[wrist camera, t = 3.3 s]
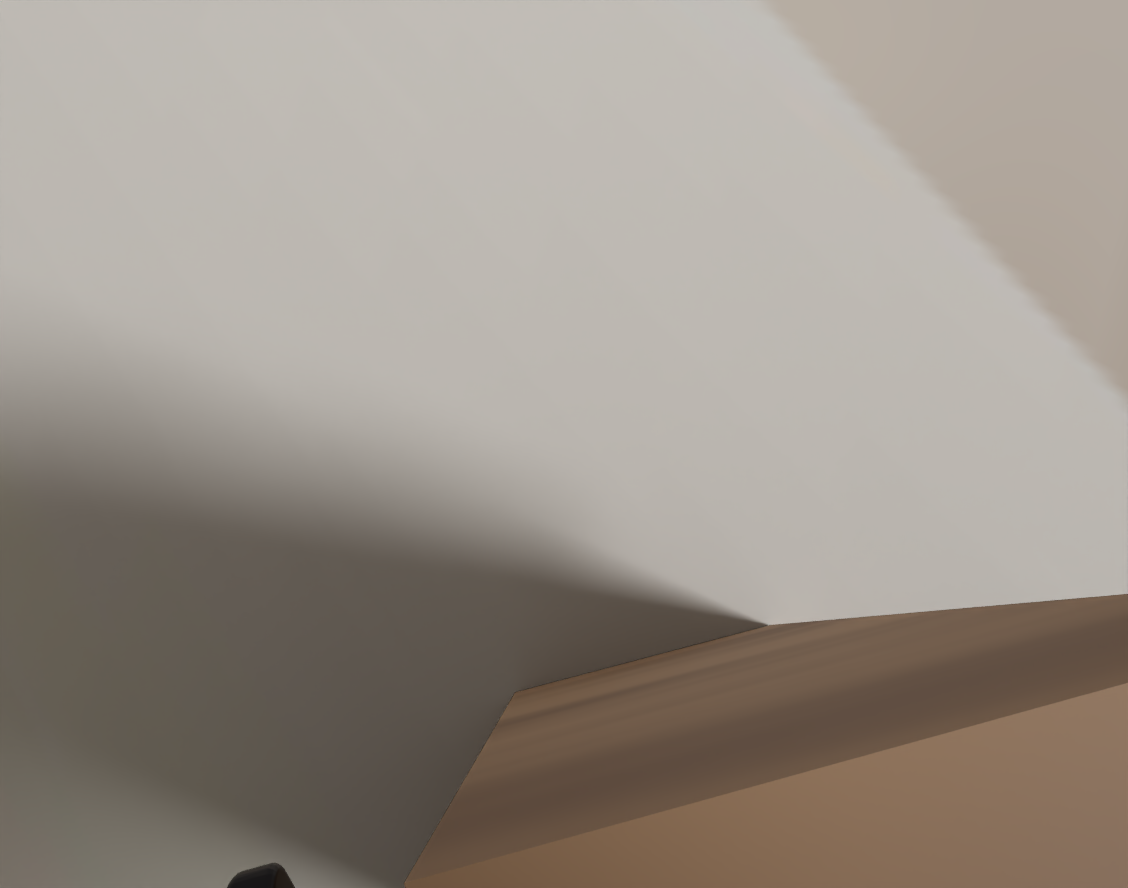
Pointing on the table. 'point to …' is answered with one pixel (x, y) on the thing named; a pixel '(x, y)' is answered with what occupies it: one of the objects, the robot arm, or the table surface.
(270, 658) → the table surface
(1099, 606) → the walnut block
